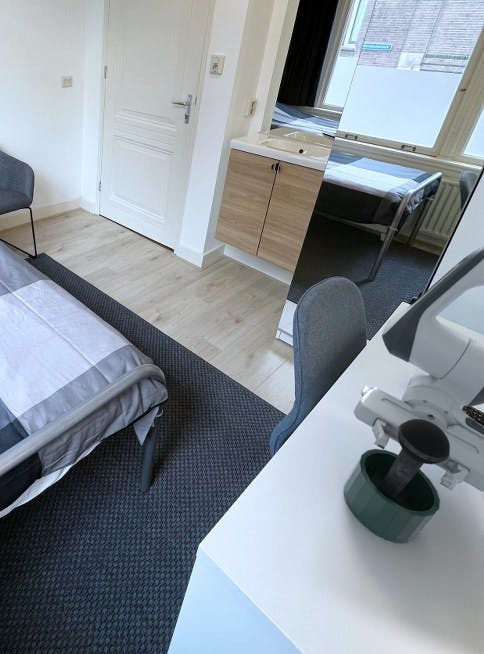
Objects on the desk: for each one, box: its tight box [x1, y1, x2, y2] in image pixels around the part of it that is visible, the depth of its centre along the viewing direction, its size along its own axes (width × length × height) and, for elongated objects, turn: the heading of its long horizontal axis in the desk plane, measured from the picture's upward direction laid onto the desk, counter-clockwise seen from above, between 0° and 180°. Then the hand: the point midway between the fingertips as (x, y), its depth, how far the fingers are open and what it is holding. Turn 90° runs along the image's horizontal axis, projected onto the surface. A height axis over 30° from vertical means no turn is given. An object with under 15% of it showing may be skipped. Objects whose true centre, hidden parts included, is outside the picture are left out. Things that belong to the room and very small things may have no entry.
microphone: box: [380, 419, 450, 498], centre depth 70 cm, size 7×7×20 cm
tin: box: [343, 448, 441, 544], centre depth 73 cm, size 12×12×8 cm
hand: (412, 463), depth 69 cm, fingers open, 8 cm apart
